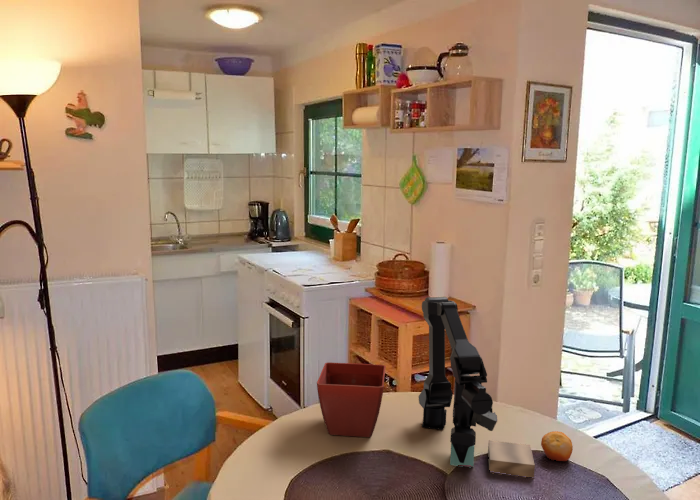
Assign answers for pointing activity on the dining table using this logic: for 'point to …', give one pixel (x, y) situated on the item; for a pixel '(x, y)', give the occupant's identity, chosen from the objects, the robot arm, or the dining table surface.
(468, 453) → the teal cube
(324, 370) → the plant pot
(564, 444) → the fruit
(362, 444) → the dining table surface
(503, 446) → the light tan wooden block
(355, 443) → the dining table surface
